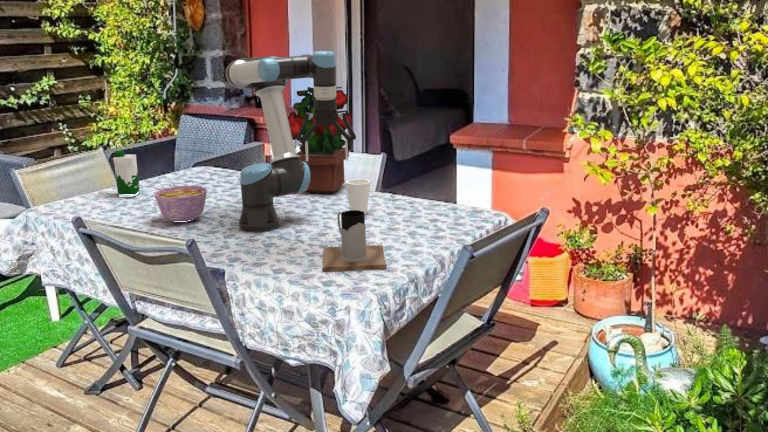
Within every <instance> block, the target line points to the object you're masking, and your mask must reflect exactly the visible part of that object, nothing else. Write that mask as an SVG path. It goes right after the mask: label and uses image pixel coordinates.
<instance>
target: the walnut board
mask: <svg viewBox="0 0 768 432" xmlns="http://www.w3.org/2000/svg"><path fill="white" fill-rule="evenodd" d="M366 254H367V256H368V258H367V259H366V260H364V261H360V262H346V261H343V260H341V256H342V246H326V247H325V246H324V247H323V255H322V258H323V259H322V272H323V273H324V272H345V271H346V272H347V271H349V272H350V271H369V270H372V271H374V270H387V262H386V257H385V251H384V245H383V244H375V245H366Z"/></svg>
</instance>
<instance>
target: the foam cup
mask: <svg viewBox="0 0 768 432" xmlns="http://www.w3.org/2000/svg"><path fill="white" fill-rule="evenodd" d="M345 189H346V193H347V198H348V204H349V205H348V206H349V211H350V210H358V211H363V212H364V215H367V213H368V205H369V197H370V189H371V181H370V180H369V179H363V178H353V179H349V180H346V181H345Z"/></svg>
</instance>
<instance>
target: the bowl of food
mask: <svg viewBox="0 0 768 432" xmlns="http://www.w3.org/2000/svg"><path fill="white" fill-rule="evenodd" d="M207 192H208V189H207V188H206V187H204V186H199V185H178V186H170V187H166V188H165V187H163V188H162V189H158V190H156V191H154V193H153V194H154V199H155V201H156V204H157V206H158V209H159V211H160V214H161V215H162V216H163V217H164V218H165V219H167V220H169V221H171V222H173V221H188V220H192V219H194V220H195V219H196V218H198V217H200V216H201V215H202V214H203V212H204V210H205V205H206V199H207V198H206V197H207Z"/></svg>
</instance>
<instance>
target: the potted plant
mask: <svg viewBox="0 0 768 432" xmlns="http://www.w3.org/2000/svg"><path fill="white" fill-rule="evenodd" d="M342 88H343V86H336V97H335V99H336V103H337V113H343V112H346V118H347V120H348V122H349V124H350V126H351V127H352V111H351V110H350V112H349V111H348V110H344V108H345V105H347V104H348V102H349V100H348V99H349V97H348V94H346V93H344V90H342ZM296 95H297V96H298V97H303V98H301V101H299V102H295V103H293V109H294V110H296V111H297V113H296V112H295V111H292V112H290V113H289V116H287V117H288V121H289V126H290V130H291V135H292V139H293V141H295V140H297V139H296V138H297V135H298V133H299V131H300V129H301V127H302V125H303V122H304V120H305V114H306V113H307V112H308V113H312V114H314V100H315V99H316V98H315V97H314V87H309V86H307V89H306V90H297V91H296ZM342 109H343V110H342ZM336 121H337V123H338V124H339V125H340V126H341V127H342V128H343V130H344V131H345V132H346V130H348V129H347V127H346V125H345V123H344V121H343V119H341V118H340V117H338V118H337V119H336ZM315 122H316V120H315V119H314V117H312V118H311V119H310V120H308V123H307V125H306V127H305V129H304V131H303V134H302V136H301V137H304V136H305V134H306V133H307V132H308V131H309V129H310V128H311V127H312V126H313V124H314V123H315ZM342 136H343V135H342V134H341V133H340V132H339V131H338V130H337V128H336V127H335V126H334V125H331V126H320V125H318V126H317V128H316V129H315V130H314V131H313V132H312V134H311V135H310V136H309V137H308V138H307V140H306V141H308V161H306V151H302V142H301V141H299V143H300V144H301V145H300V146H299V151H298V152H296V154H297V155H299V156H300V157H301V161H303V162H306V163H307V164H308V166H309V169H310V183H309V186H308V188H307V190H306V191H305V193H306V194H313V195H314V194H316V195H317V194H318V195H333V194H334V193H335V192H336V191H337V190H339V189H340V187H342V185H344V184H346V181H345V161H346V152H345V147H344V146H345V140H346V139H342ZM349 156H350V150H348V158H349ZM338 188H339V189H338Z"/></svg>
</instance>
